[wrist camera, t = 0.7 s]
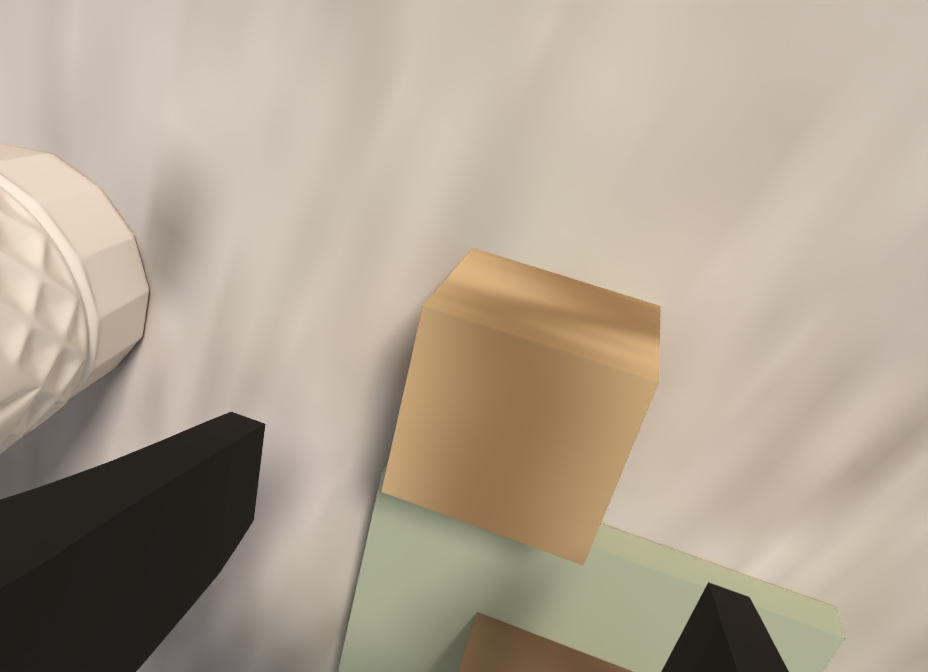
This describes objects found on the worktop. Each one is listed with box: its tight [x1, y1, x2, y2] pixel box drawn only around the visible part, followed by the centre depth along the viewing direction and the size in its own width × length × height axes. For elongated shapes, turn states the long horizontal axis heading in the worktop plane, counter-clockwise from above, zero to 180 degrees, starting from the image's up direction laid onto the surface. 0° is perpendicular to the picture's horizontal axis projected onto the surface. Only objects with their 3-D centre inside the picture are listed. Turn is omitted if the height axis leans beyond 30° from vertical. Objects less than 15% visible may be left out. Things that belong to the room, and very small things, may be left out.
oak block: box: [381, 248, 660, 566], centre depth 16 cm, size 4×4×4 cm
